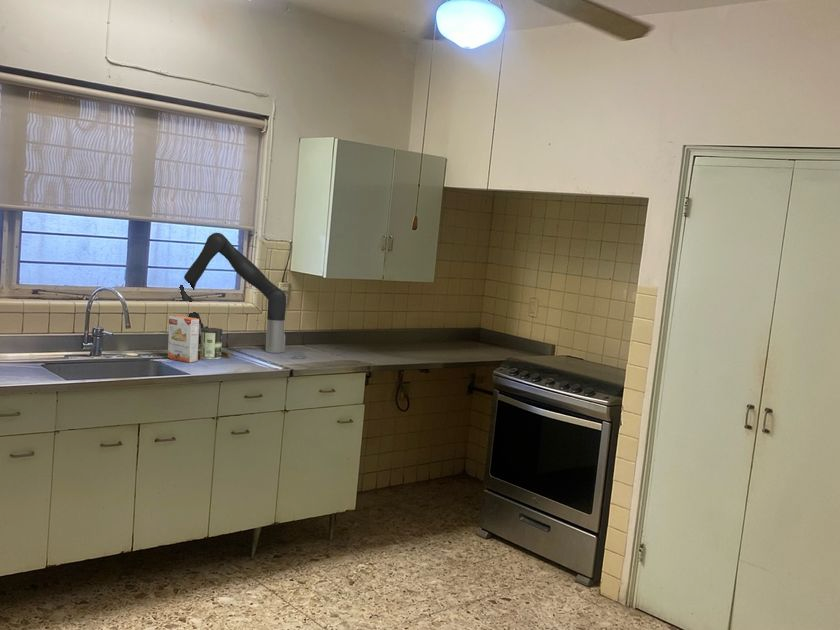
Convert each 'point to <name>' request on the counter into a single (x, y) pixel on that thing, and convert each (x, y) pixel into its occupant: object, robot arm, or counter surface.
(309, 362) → the counter surface
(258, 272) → the robot arm
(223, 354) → the chute
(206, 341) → the coffee can
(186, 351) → the cracker box
